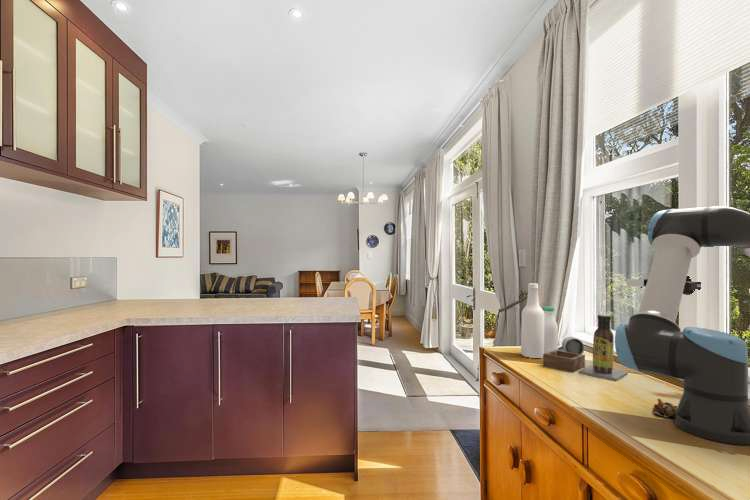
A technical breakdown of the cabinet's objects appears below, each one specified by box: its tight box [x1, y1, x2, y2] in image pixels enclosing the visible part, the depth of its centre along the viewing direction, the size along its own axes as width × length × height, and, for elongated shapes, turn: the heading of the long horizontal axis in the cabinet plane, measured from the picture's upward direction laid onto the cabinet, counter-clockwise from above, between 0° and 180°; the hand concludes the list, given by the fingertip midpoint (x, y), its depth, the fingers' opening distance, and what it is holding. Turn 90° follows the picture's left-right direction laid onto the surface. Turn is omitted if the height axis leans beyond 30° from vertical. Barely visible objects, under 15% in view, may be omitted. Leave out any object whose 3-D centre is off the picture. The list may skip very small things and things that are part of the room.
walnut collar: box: [542, 350, 586, 373], centre depth 150 cm, size 11×11×4 cm
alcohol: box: [520, 282, 544, 359], centre depth 166 cm, size 9×9×30 cm
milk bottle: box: [541, 306, 559, 354], centre depth 170 cm, size 8×8×20 cm
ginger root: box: [652, 398, 678, 418], centre depth 107 cm, size 7×12×4 cm, turn 147°
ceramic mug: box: [558, 336, 585, 355], centre depth 170 cm, size 11×8×8 cm
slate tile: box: [578, 364, 629, 382], centre depth 142 cm, size 12×12×1 cm
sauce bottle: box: [592, 313, 615, 373], centre depth 142 cm, size 6×6×20 cm
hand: (642, 283), depth 140 cm, fingers open, 13 cm apart
